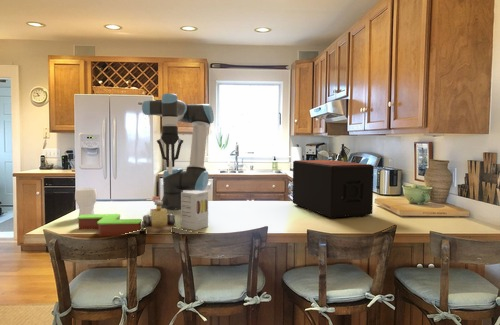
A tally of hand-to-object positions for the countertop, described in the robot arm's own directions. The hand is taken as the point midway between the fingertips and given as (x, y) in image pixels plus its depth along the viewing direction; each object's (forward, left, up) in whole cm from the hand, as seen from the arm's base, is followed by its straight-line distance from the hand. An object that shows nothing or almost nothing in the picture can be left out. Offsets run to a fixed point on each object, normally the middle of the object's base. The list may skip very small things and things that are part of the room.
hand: (170, 173), depth 180 cm
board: (+7, +10, -24) cm, 27 cm away
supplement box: (-9, +14, -24) cm, 30 cm away
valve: (+7, +10, -23) cm, 26 cm away
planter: (+28, +7, -25) cm, 38 cm away
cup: (+40, -25, -24) cm, 53 cm away
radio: (-92, +1, -25) cm, 95 cm away
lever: (+7, +5, -13) cm, 16 cm away
